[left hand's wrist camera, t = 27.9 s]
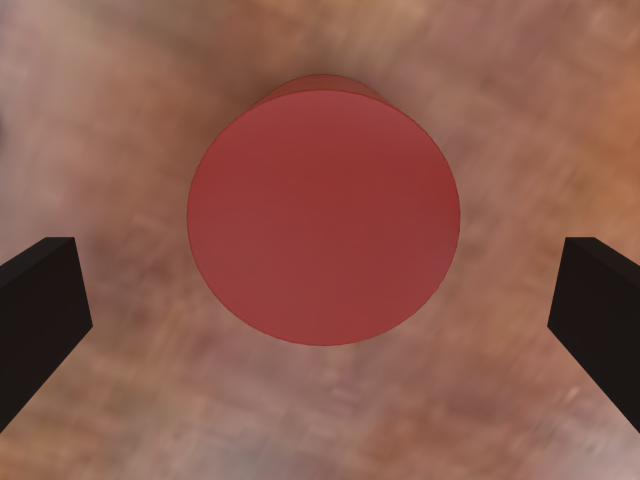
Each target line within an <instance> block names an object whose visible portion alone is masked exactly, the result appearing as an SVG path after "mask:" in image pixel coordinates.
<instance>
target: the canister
mask: <svg viewBox="0 0 640 480" xmlns="http://www.w3.org/2000/svg"><path fill="white" fill-rule="evenodd" d="M187 231H188V237H189V242H190V247H191V251H192V254H193V257H194V260H195V262H196V265H197V267H198V269H199V271H200V273H201V275H202V277H203V279H204V281H205V282H206V284H207V285H208V287H209V288H210V290H211V291H212V293H213V294H214V295H215V296H216V297H217V298H218V300H219V301H220V302H221V303H222V304H223V305H224V306H225V307H226V308H227V309H228V310H229V311H231V312H232V313H233V314H234V315H235V316H236V317H238V318H239V319H241V320H242V321H244V322H245V323H246V324H248V325H250V326H251V327H253V328H255V329H257V330H259V331H261V332H263V333H265V334H268V335H270V336H273V337H275V338H278V339H281V340H285V341H289V342H292V343H298V344H304V345H316V346H331V345H343V344H349V343H354V342H359V341H362V340H365V339H369V338H372V337H374V336H377V335H379V334H382V333H384V332H386V331H388V330H390V329H392V328H394V327H395V326H397V325H399V324H401V323H402V322H403V321H405V320H406V319H408V318H409V317H410V316H412V315H413V314H414V313H415V312H416V311H417V310H419V309H420V308H421V307H422V306H423V305H424V304H425V303H426V302H427V301H428V299H429V298H430V297H431V296H432V295H433V294H434V292H435V291H436V290H437V288H438V287H439V285H440V284H441V282H442V280H443V279H444V277H445V275H446V273H447V271H448V269H449V267H450V265H451V263H452V260H453V257H454V254H455V251H456V248H457V243H458V237H459V232H460V204H459V196H458V192H457V188H456V184H455V180H454V177H453V175H452V172H451V170H450V167H449V165H448V163H447V161H446V159H445V157H444V156H443V154H442V152H441V151H440V149H439V147H438V146H437V145H436V144H435V142H434V141H433V140H432V139H431V137H430V136H429V135H428V134H427V132H425V131H424V130H423V129H422V128H421V127H420V126H419V125H418V124H417V123H416V122H415V121H414V120H413V119H411V118H410V117H408V116H407V115H406V114H404V113H403V112H402V111H400V110H399V109H398V108H396V107H395V106H393V105H392V104H391V103H389V102H388V101H387V100H385V99H384V98H383V97H381V96H380V95H379V94H377V93H376V92H374V91H373V90H371V89H370V88H369V87H367V86H365V85H363V84H361V83H359V82H357V81H355V80H352V79H349V78H346V77H341V76H336V75H324V74H321V75H310V76H305V77H301V78H297V79H295V80H292V81H289V82H287V83H285V84H283V85H281V86H280V87H278V88H276V89H275V90H273V91H272V92H271V93H269V94H268V95H267V96H265V97H264V98H263V99H261V100H260V101H259V102H257V103H256V104H255V105H254V106H252V107H251V108H250V109H248V110H247V111H246V112H244V113H243V114H242V115H240V116H239V117H238V118H236V119H235V120H234V121H232V122H231V123H230V124H229V125H228V126H227V127H226V128H225V129H224V130H223V131H222V132H221V133H220V134H219V135H218V136H217V137H216V139H215V140H214V141H213V143H212V144H211V145H210V147H209V148H208V149H207V151H206V153H205V154H204V156H203V158H202V160H201V162H200V163H199V165H198V167H197V170H196V173H195V175H194V178H193V180H192V184H191V188H190V193H189V197H188V205H187Z"/></svg>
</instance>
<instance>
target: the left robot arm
mask: <svg viewBox="0 0 640 480" xmlns="http://www.w3.org/2000/svg"><path fill="white" fill-rule="evenodd" d="M92 327H93V325H92V320H91V315H90V310H89V305H88V301H87V296H86V291H85V286H84V281H83V277H82V272H81V267H80V262H79V257H78V253H77V248H76V243H75V238H74V237H45V238H44V239H42V240H41V241H39V242H37V243H36V244H34V245H33V246H31V247H30V248H28V249H26V250H25V251H23V252H22V253H20V254H18V255H17V256H15V257H14V258H12V259H11V260H9V261H7V262H6V263H4V264H3V265H1V266H0V433H1V432H2V431H3V430H4V429H5V428H6V426H7V425H8V424H9V423H10V422H11V421H12V419H13V418H14V417H15V416H16V415H17V414H18V413H19V411H20V410H21V409H22V408H23V407H24V406H25V404H26V403H27V402H28V401H29V400H30V399H31V397H32V396H33V395H34V394H35V393H36V392H37V391H38V389H39V388H40V387H41V386H42V385H43V384H44V382H45V381H46V380H47V379H48V378H49V377H50V376H51V374H52V373H53V372H54V371H55V370H56V369H57V367H58V366H59V365H60V364H61V363H62V362H63V360H64V359H65V358H66V357H67V356H68V355H69V354H70V352H71V351H72V350H73V349H74V348H75V347H76V345H77V344H78V343H79V342H80V341H81V340H82V339H83V337H84V336H85V335H86V334H87V333H88V332H89V330H90V329H91V328H92ZM547 327H548V328H549V329H550V330H551V332H552V333H553V334H554V335H555V336H556V337H557V339H558V340H559V341H560V342H561V343H562V344H563V345H564V347H565V348H566V349H567V350H568V351H569V352H570V354H571V355H572V356H573V357H574V358H575V359H576V360H577V362H578V363H579V364H580V365H581V366H582V367H583V369H584V370H585V371H586V372H587V373H588V374H589V376H590V377H591V378H592V379H593V380H594V381H595V382H596V384H597V385H598V386H599V387H600V388H601V389H602V391H603V392H604V393H605V394H606V395H607V396H608V397H609V399H610V400H611V401H612V402H613V403H614V404H615V406H616V407H617V408H618V409H619V410H620V411H621V413H622V414H623V415H624V416H625V417H626V418H627V419H628V421H629V422H630V423H631V424H632V425H633V426H634V428H635V429H636V430H637V431H638V432H639V433H640V266H639V265H637V264H636V263H634V262H633V261H631V260H629V259H628V258H626V257H625V256H623V255H622V254H620V253H618V252H617V251H615V250H614V249H612V248H610V247H609V246H607V245H606V244H604V243H603V242H601V241H599V240H598V239H596V238H595V237H566V238H565V243H564V248H563V253H562V257H561V262H560V267H559V272H558V277H557V281H556V286H555V291H554V296H553V301H552V305H551V310H550V315H549V320H548V325H547Z"/></svg>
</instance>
